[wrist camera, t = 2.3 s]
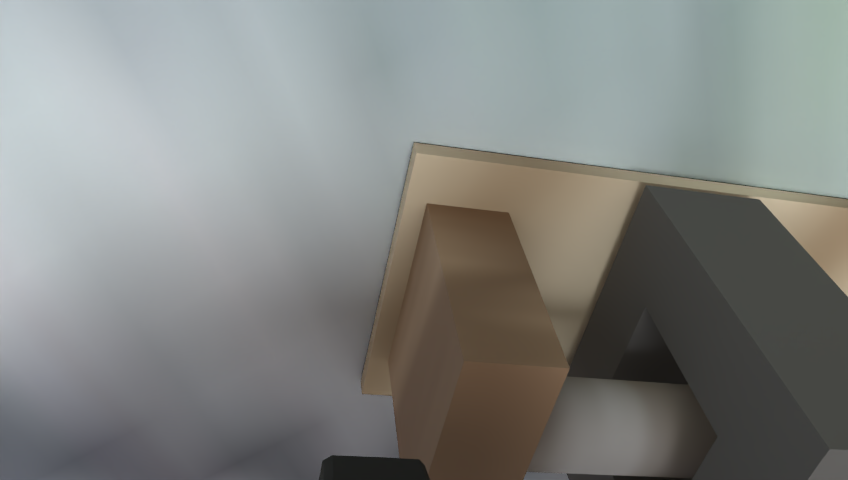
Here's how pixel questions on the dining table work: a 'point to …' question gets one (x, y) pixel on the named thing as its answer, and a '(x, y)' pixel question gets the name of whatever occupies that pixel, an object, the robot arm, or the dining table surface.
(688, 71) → the dining table surface
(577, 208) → the rail
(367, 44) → the dining table surface
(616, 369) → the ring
